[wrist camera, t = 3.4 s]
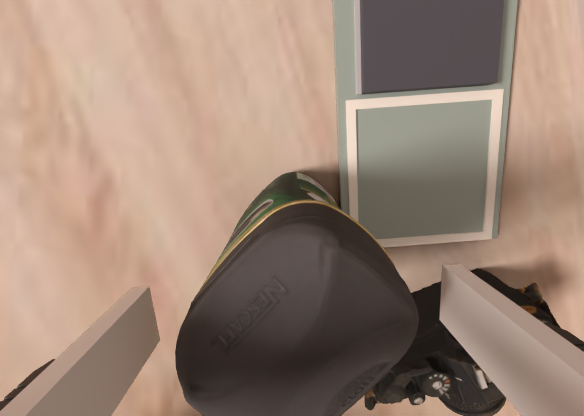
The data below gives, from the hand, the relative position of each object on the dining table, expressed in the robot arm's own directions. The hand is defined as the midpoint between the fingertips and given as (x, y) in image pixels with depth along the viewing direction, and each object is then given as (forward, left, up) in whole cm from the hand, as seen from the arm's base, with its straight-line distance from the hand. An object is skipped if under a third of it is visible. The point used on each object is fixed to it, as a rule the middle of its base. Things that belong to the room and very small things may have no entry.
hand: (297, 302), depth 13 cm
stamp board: (+12, +8, -15) cm, 21 cm away
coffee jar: (0, 0, -15) cm, 15 cm away
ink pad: (+12, +15, -15) cm, 24 cm away
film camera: (+14, -13, -15) cm, 24 cm away
